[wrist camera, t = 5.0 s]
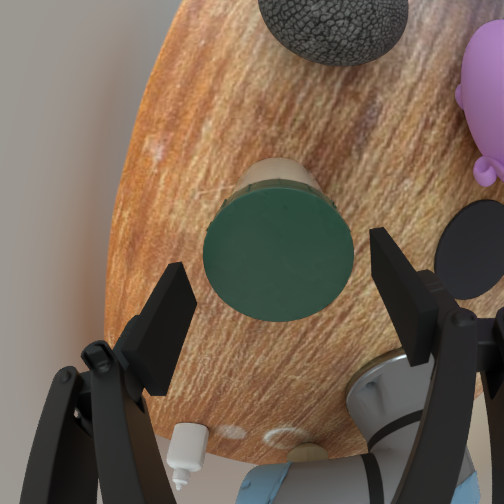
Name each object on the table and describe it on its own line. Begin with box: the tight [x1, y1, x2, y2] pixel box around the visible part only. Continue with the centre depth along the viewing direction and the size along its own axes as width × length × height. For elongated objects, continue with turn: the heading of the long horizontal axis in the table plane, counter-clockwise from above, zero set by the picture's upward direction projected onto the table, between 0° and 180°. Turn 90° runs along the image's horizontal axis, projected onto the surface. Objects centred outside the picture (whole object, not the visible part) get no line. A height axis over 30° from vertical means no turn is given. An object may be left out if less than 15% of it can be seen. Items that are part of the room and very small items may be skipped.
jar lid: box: [203, 177, 354, 322], centre depth 18 cm, size 8×8×2 cm
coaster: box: [434, 200, 504, 300], centre depth 27 cm, size 12×12×1 cm
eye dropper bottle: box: [166, 423, 209, 490], centre depth 39 cm, size 4×6×12 cm
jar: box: [231, 157, 324, 195], centre depth 22 cm, size 8×8×10 cm
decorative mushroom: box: [287, 443, 328, 462], centre depth 38 cm, size 13×13×15 cm
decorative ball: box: [258, 0, 408, 66], centre depth 15 cm, size 10×10×10 cm
